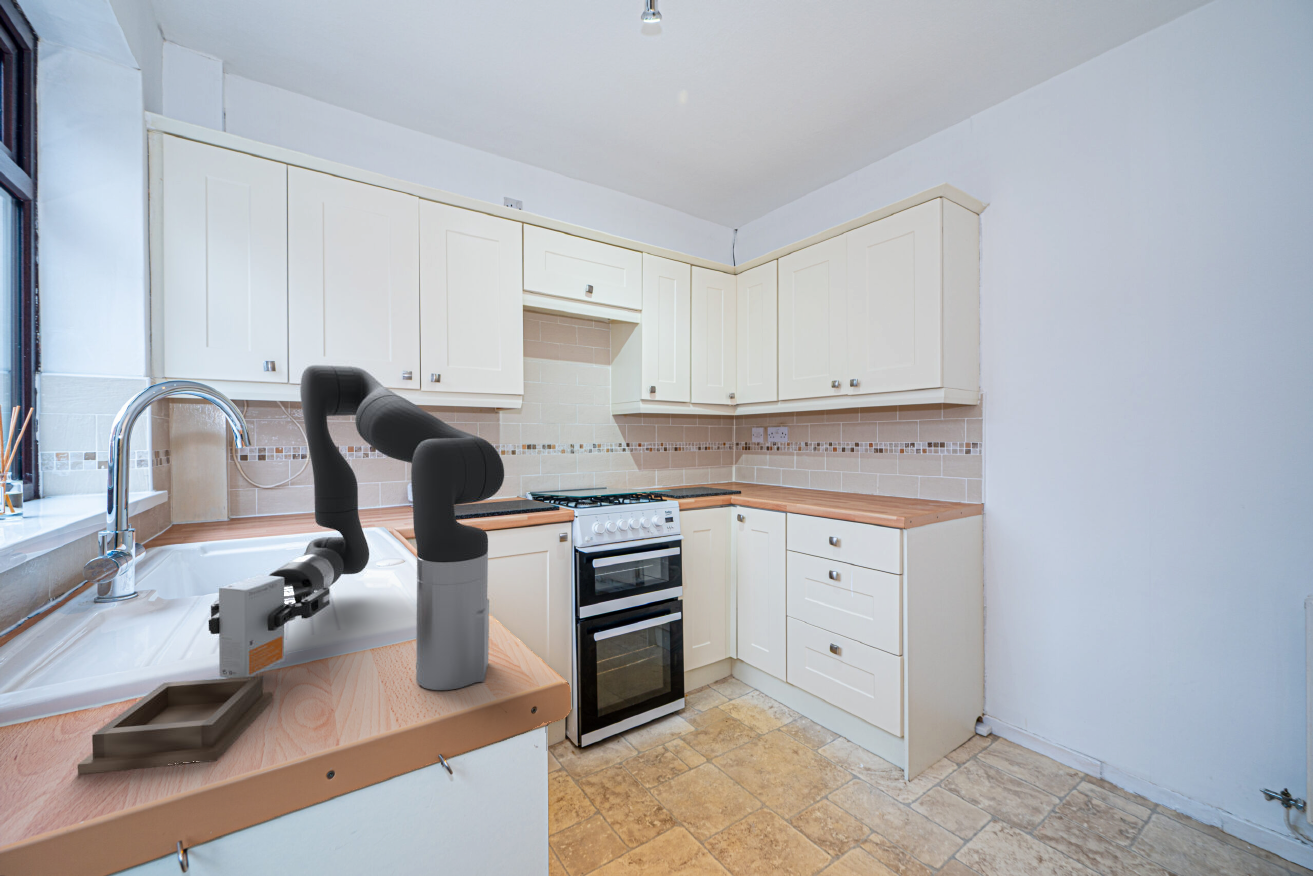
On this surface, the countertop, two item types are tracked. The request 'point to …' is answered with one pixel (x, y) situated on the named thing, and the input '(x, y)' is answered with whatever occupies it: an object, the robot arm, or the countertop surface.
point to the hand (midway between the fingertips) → (242, 625)
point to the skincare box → (249, 626)
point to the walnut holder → (178, 724)
